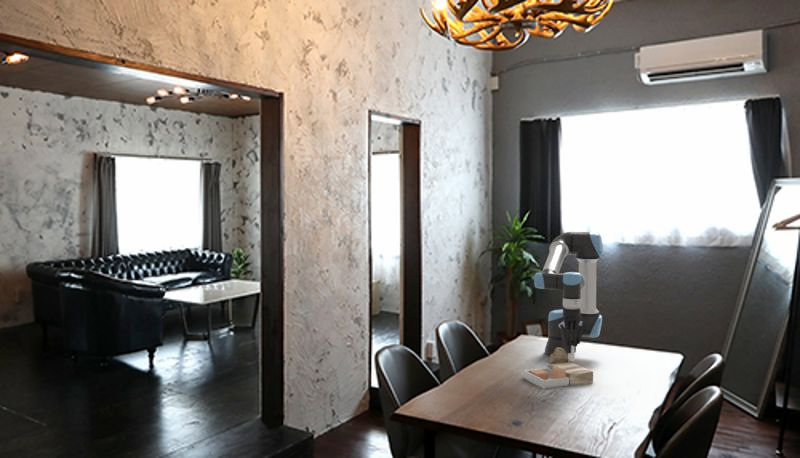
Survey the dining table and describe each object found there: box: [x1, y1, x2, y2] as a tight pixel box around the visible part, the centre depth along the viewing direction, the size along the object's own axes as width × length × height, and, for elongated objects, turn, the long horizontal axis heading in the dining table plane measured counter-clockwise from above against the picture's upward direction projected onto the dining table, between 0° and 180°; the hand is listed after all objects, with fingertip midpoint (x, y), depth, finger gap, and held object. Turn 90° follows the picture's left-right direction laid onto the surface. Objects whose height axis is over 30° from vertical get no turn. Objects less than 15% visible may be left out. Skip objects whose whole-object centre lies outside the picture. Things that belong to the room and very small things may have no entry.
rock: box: [548, 347, 570, 366], centre depth 275 cm, size 11×12×10 cm
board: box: [548, 361, 594, 386], centre depth 260 cm, size 16×12×5 cm
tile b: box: [551, 367, 565, 379], centre depth 253 cm, size 6×6×3 cm
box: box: [522, 367, 570, 390], centre depth 255 cm, size 16×13×4 cm
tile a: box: [529, 368, 549, 380], centre depth 259 cm, size 6×6×3 cm
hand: (571, 360), depth 255 cm, fingers closed
